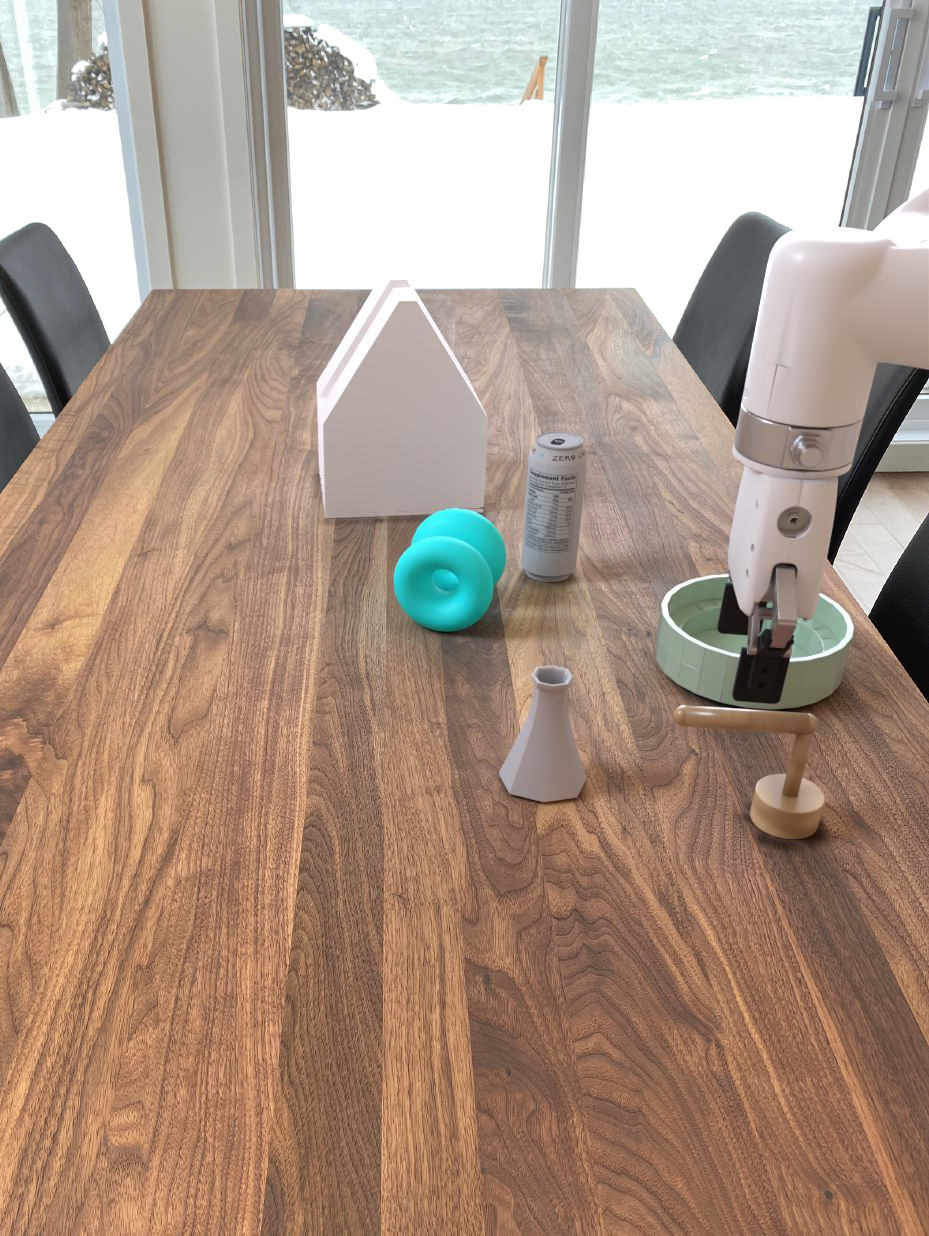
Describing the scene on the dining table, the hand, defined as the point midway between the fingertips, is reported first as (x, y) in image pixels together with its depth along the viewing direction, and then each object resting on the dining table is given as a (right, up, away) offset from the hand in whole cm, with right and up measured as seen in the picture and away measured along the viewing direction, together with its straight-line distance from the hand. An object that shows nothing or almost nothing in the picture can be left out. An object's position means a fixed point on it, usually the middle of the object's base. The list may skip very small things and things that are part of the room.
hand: (746, 665), depth 86 cm
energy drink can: (-8, +13, +44) cm, 46 cm away
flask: (-13, -9, +12) cm, 20 cm away
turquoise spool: (-19, +8, +36) cm, 42 cm away
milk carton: (-24, +26, +63) cm, 72 cm away
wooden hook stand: (+2, -11, +8) cm, 14 cm away
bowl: (+9, +2, +27) cm, 28 cm away
